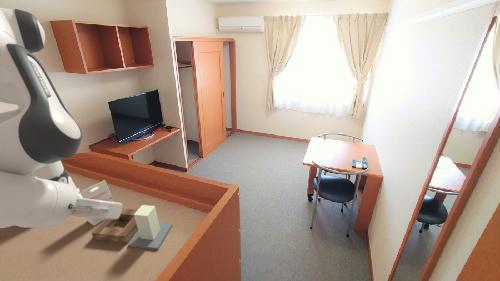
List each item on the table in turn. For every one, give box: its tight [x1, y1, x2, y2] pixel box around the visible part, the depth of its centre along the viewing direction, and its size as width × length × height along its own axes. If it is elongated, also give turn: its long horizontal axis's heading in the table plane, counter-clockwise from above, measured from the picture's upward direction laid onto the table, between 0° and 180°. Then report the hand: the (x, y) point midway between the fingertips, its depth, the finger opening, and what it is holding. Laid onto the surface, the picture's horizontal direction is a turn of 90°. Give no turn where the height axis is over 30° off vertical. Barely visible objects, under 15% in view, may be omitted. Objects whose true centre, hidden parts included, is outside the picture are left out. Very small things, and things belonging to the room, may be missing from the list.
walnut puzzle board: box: [91, 207, 138, 244], centre depth 80 cm, size 12×12×3 cm
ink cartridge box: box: [77, 179, 114, 226], centre depth 82 cm, size 9×5×15 cm, turn 148°
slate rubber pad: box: [127, 222, 173, 251], centre depth 77 cm, size 10×10×1 cm
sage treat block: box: [134, 204, 160, 240], centre depth 74 cm, size 4×4×10 cm
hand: (98, 207), depth 59 cm, fingers open, 8 cm apart
